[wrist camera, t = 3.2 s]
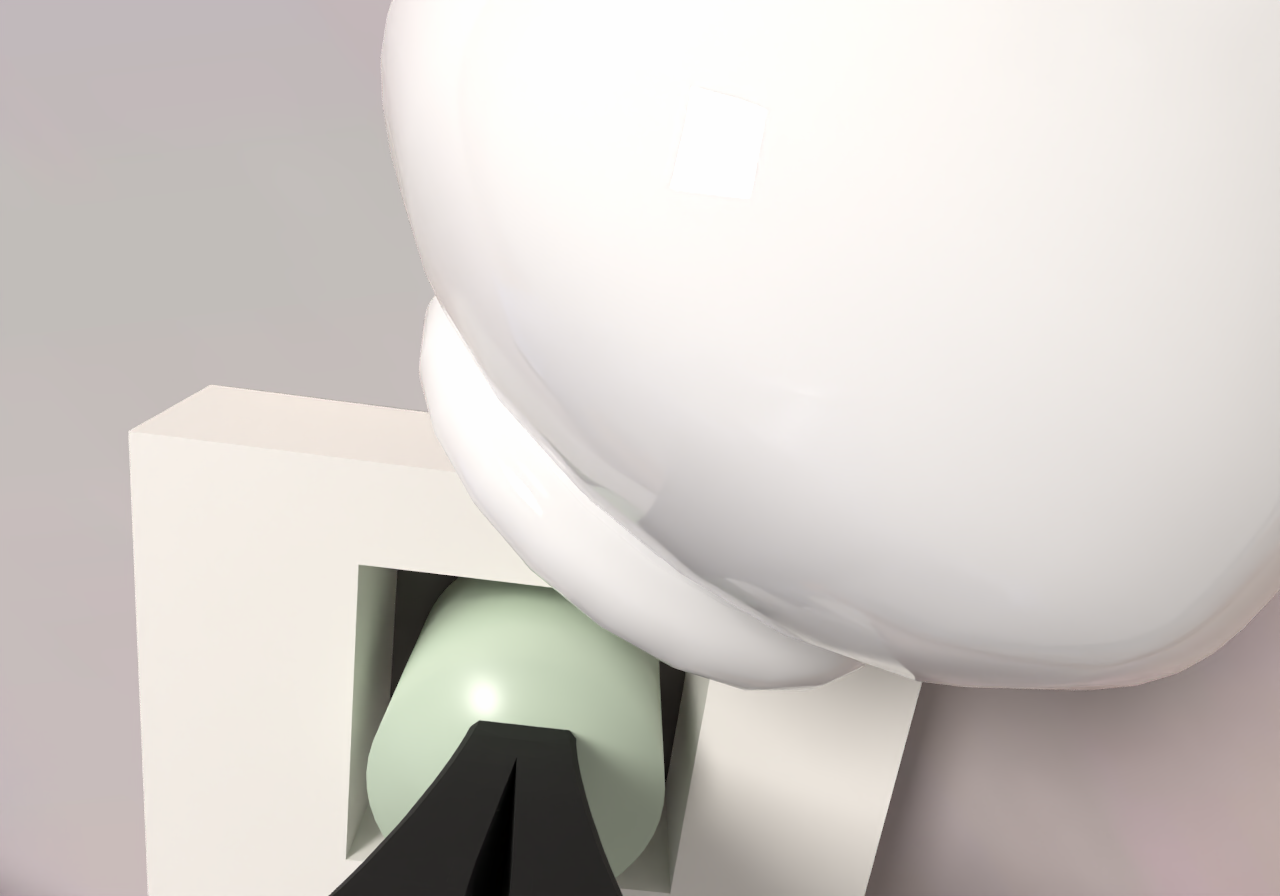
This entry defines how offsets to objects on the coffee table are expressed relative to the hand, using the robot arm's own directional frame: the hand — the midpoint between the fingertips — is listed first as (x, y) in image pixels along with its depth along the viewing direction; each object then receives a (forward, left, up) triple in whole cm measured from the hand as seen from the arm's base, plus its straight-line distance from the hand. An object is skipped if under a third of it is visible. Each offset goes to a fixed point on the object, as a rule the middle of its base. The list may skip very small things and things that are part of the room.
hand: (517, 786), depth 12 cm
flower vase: (+7, +16, -4) cm, 18 cm away
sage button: (0, 0, -3) cm, 3 cm away
